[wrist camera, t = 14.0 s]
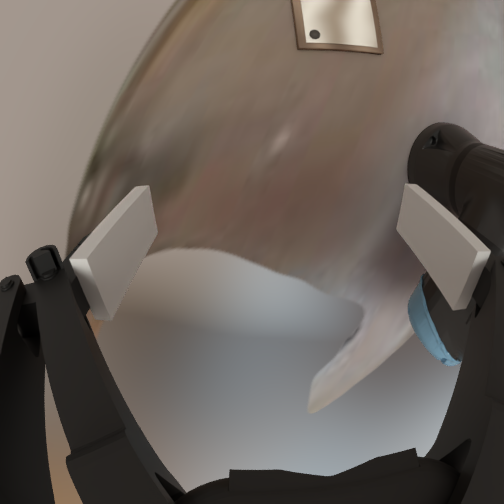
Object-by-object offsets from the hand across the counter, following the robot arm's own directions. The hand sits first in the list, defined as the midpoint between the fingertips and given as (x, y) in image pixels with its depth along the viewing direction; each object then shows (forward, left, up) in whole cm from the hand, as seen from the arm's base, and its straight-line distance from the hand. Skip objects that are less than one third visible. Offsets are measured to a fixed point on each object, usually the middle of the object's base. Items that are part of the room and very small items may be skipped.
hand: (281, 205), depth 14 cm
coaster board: (-13, -24, -26) cm, 37 cm away
